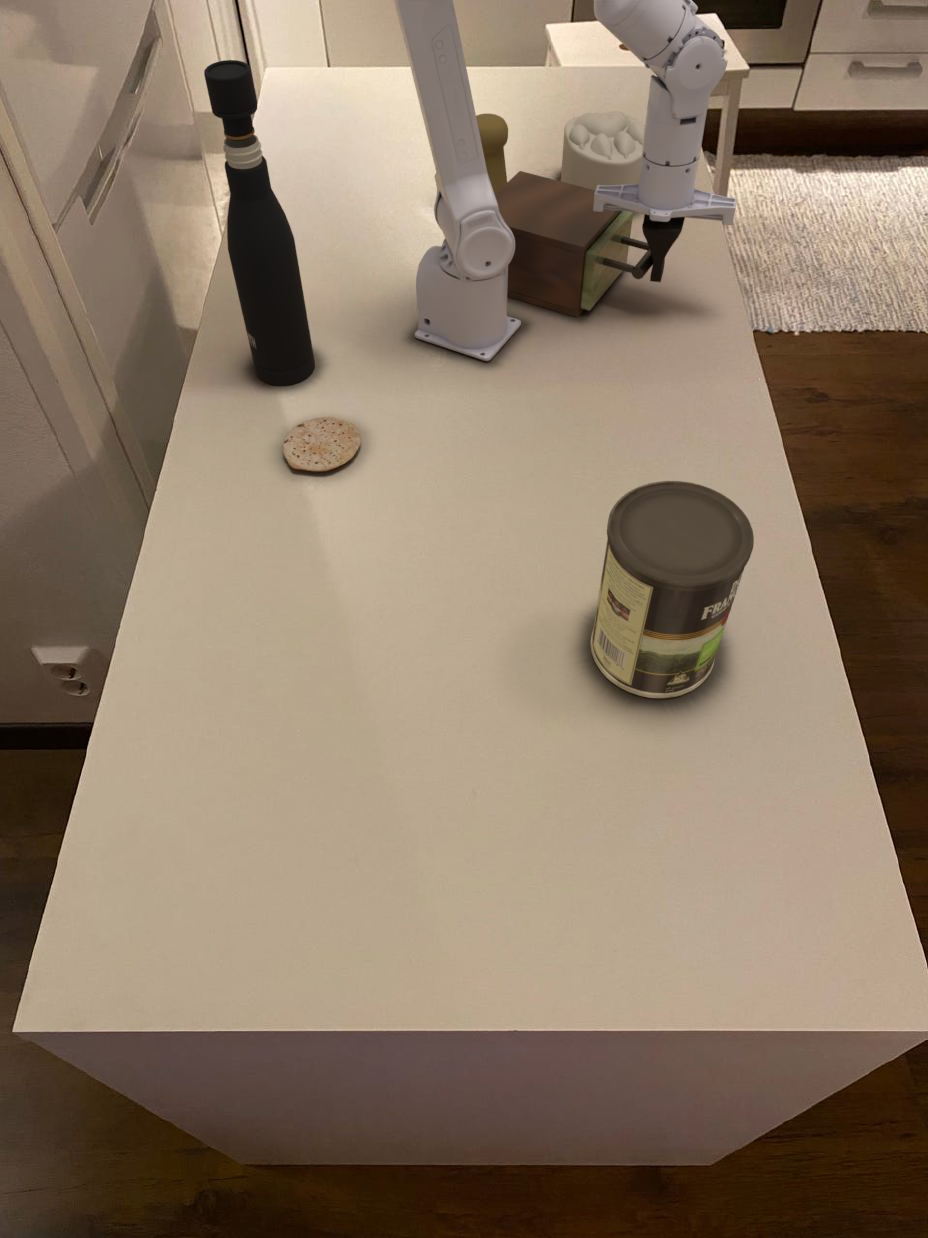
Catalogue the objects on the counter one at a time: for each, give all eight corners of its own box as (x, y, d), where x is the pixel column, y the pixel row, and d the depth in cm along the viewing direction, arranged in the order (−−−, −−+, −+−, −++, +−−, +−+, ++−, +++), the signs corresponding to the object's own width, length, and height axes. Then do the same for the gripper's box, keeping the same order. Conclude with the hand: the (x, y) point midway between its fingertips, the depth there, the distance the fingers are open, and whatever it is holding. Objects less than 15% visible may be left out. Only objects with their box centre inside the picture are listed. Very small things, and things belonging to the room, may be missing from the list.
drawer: (665, 276, 111) (674, 221, 105) (630, 323, 105) (638, 267, 100) (532, 239, 116) (534, 184, 111) (491, 281, 110) (492, 226, 105)
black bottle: (324, 355, 103) (278, 58, 80) (299, 391, 100) (243, 89, 76) (271, 344, 105) (211, 48, 81) (245, 379, 101) (173, 79, 78)
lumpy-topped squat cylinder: (631, 166, 129) (639, 99, 122) (653, 216, 121) (664, 147, 114) (555, 171, 128) (559, 104, 121) (573, 221, 120) (578, 153, 113)
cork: (505, 220, 120) (507, 131, 112) (459, 215, 121) (457, 127, 113) (513, 196, 124) (516, 108, 116) (468, 192, 125) (467, 104, 116)
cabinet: (618, 267, 113) (627, 198, 107) (577, 317, 107) (583, 247, 100) (517, 238, 118) (519, 170, 111) (472, 285, 111) (471, 215, 105)
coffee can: (734, 631, 79) (775, 511, 68) (684, 720, 74) (720, 606, 63) (623, 582, 83) (645, 461, 72) (567, 664, 77) (582, 547, 66)
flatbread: (311, 413, 97) (309, 406, 96) (375, 434, 95) (374, 426, 94) (267, 462, 93) (265, 454, 92) (333, 485, 91) (331, 477, 90)
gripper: (591, 165, 94) (583, 288, 104) (741, 178, 91) (716, 304, 101) (604, 132, 98) (594, 254, 108) (747, 145, 95) (723, 269, 106)
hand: (654, 276), depth 105 cm, fingers closed, pressing on drawer
